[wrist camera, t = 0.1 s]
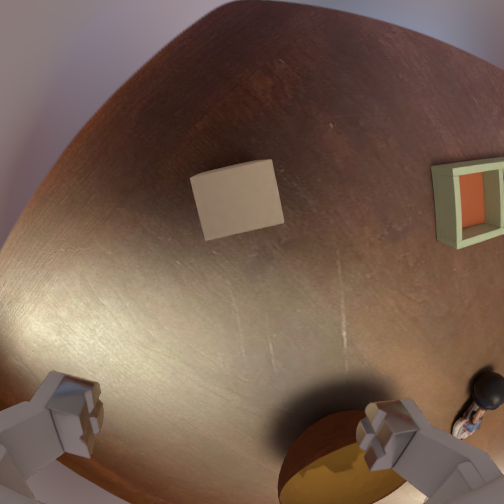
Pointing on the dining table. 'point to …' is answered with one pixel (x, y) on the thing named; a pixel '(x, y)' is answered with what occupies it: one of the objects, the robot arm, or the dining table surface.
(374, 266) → the dining table surface
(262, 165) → the beige rectangular block
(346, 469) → the bowl
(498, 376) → the figurine
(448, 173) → the holder
